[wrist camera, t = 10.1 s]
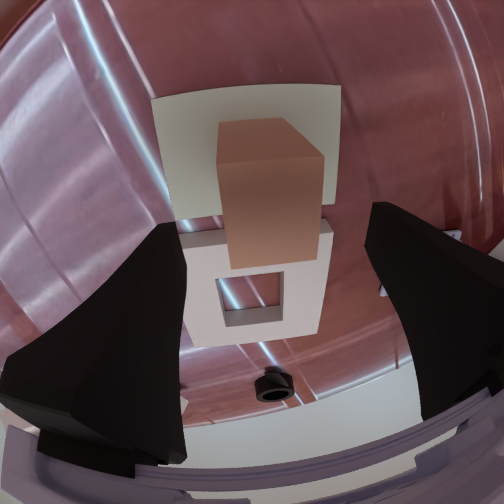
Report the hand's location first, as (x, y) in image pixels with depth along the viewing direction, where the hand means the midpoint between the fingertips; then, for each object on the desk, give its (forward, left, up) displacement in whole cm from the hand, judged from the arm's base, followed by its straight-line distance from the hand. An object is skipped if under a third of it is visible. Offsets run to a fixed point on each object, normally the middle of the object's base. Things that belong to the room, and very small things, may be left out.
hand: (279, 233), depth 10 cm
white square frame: (+1, +12, -10) cm, 16 cm away
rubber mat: (0, 0, -10) cm, 10 cm away
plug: (0, 0, -10) cm, 10 cm away
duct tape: (-1, +34, -10) cm, 36 cm away
